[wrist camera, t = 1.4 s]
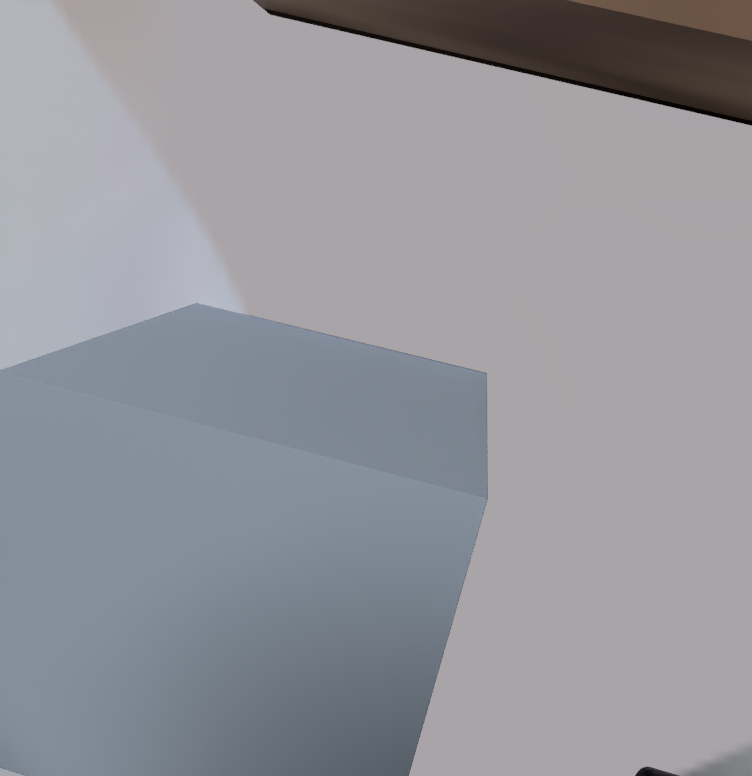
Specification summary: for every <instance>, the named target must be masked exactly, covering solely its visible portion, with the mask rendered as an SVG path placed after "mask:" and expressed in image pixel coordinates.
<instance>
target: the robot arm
mask: <svg viewBox="0 0 752 776" xmlns="http://www.w3.org/2000/svg"><path fill="white" fill-rule="evenodd" d="M635 776H679V775H675V774H672V773H668V772H665V771H661V770H658V769H655V768H651V767H644V768H642V769H640V770H639V771H638V773H637V774H636V775H635Z"/></svg>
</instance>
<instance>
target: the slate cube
mask: <svg viewBox="0 0 752 776" xmlns="http://www.w3.org/2000/svg"><path fill="white" fill-rule="evenodd" d="M487 486H488V485H487V373H485V372H481V371H477V370H472V369H469V368H465V367H461V366H456V365H452V364H448V363H444V362H440V361H436V360H432V359H428V358H424V357H420V356H415V355H411V354H407V353H403V352H399V351H395V350H391V349H387V348H383V347H379V346H375V345H370V344H366V343H362V342H358V341H354V340H350V339H346V338H341V337H338V336H334V335H329V334H325V333H321V332H317V331H313V330H309V329H305V328H301V327H297V326H292V325H288V324H284V323H280V322H276V321H272V320H268V319H264V318H260V317H256V316H252V315H248V314H245V315H243V314H239V313H235V312H231V311H227V310H223V309H219V308H215V307H210V306H206V305H202V304H198V303H195V304H193V305H190V306H187V307H184V308H181V309H178V310H175V311H172V312H169V313H166V314H163V315H160V316H158V317H155V318H152V319H149V320H146V321H143V322H140V323H137V324H134V325H131V326H128V327H125V328H123V329H120V330H117V331H114V332H111V333H108V334H105V335H102V336H99V337H96V338H93V339H90V340H88V341H85V342H82V343H79V344H76V345H73V346H70V347H67V348H64V349H61V350H58V351H55V352H53V353H50V354H47V355H44V356H41V357H38V358H35V359H32V360H29V361H26V362H23V363H20V364H18V365H15V366H12V367H9V368H6V369H3V370H0V768H3V769H6V770H9V771H12V772H16V773H19V774H22V775H25V776H409V773H410V769H411V766H412V762H413V758H414V755H415V752H416V748H417V744H418V741H419V738H420V734H421V731H422V727H423V724H424V720H425V716H426V713H427V710H428V706H429V703H430V698H431V695H432V691H433V688H434V685H435V681H436V678H437V674H438V671H439V667H440V664H441V660H442V657H443V653H444V650H445V646H446V642H447V639H448V636H449V632H450V629H451V625H452V622H453V618H454V615H455V611H456V608H457V604H458V601H459V597H460V594H461V590H462V587H463V583H464V580H465V576H466V573H467V569H468V566H469V562H470V559H471V555H472V552H473V548H474V545H475V541H476V538H477V534H478V531H479V527H480V524H481V520H482V516H483V513H484V510H485V506H486V503H487V499H488V498H487V497H488V491H487V490H488V487H487Z"/></svg>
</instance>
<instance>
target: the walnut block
mask: <svg viewBox="0 0 752 776" xmlns="http://www.w3.org/2000/svg"><path fill="white" fill-rule="evenodd" d="M254 1H255V2H256V3H257V4H258V5H259V6H261V7H262V8H263V9H264V10H265V11H266V12H268V13H269V14H270V15H274V16H278V17H282V18H287V19H291V20H296V21H300V22H304V23H309V24H313V25H317V26H322V27H326V28H330V29H335V30H339V31H344V32H348V33H352V34H356V35H361V36H366V37H369V38H374V39H378V40H382V41H387V42H391V43H396V44H400V45H404V46H408V47H413V48H417V49H421V50H426V51H431V52H434V53H439V54H443V55H448V56H452V57H456V58H461V59H465V60H469V61H473V62H478V63H482V64H487V65H491V66H495V67H500V68H504V69H508V70H513V71H517V72H521V73H526V74H530V75H534V76H539V77H543V78H547V79H552V80H556V81H561V82H565V83H569V84H573V85H578V86H582V87H587V88H591V89H595V90H599V91H604V92H608V93H613V94H617V95H621V96H625V97H630V98H634V99H639V100H643V101H647V102H652V103H656V104H660V105H665V106H669V107H673V108H677V109H682V110H686V111H690V112H695V113H699V114H704V115H708V116H712V117H717V118H721V119H725V120H730V121H734V122H738V123H743V124H747V125H751V126H752V0H254Z"/></svg>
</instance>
